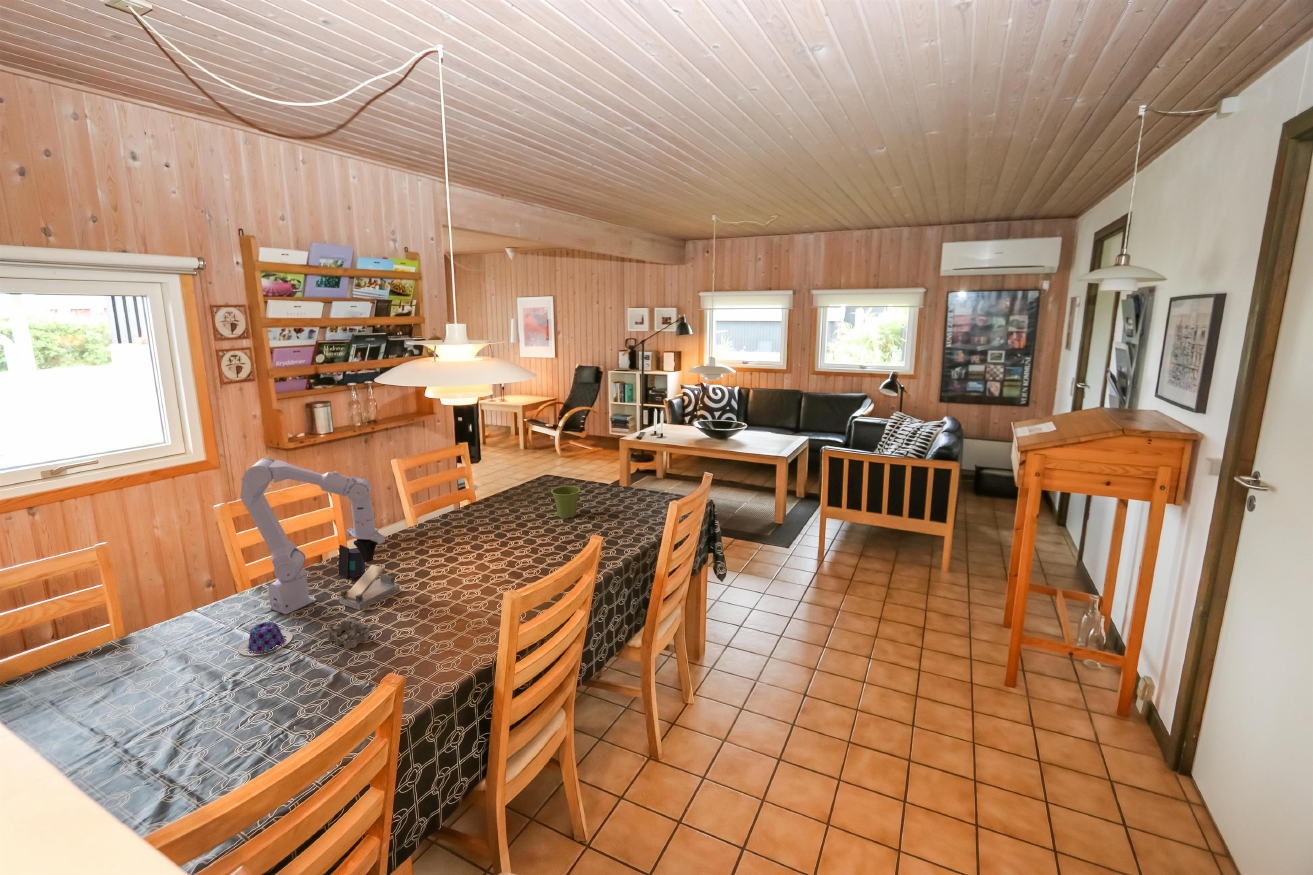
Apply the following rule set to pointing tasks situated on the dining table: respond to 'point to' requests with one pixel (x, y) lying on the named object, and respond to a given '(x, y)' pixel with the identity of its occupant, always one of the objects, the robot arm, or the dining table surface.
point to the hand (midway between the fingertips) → (368, 561)
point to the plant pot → (566, 500)
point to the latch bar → (365, 581)
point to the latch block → (371, 593)
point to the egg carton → (349, 633)
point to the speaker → (350, 562)
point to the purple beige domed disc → (265, 638)
